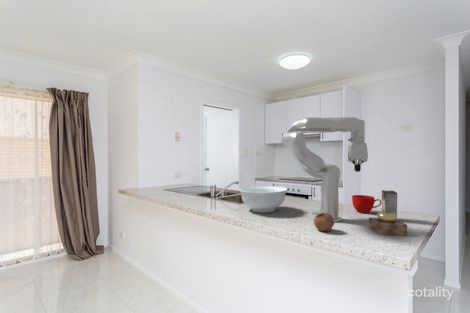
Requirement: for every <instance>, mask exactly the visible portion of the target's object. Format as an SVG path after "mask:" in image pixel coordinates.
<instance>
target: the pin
mask: <svg viewBox="0 0 470 313" xmlns="http://www.w3.org/2000/svg"><path fill="white" fill-rule="evenodd" d="M377 218H378V221H380V222H385V223H396V214H394V213H389V212H382V211H380V212H377Z"/></svg>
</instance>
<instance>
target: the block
mask: <svg viewBox="0 0 470 313" xmlns="http://www.w3.org/2000/svg"><path fill="white" fill-rule="evenodd" d="M368 229H370V230H372V231H373V232H375V233H376V234H377V235H381V236H405V237H407V236H408V224H407V223H405V222H402V221H400V220H399V219H398V218H397V219H396V223H385V222H380V221H378V217H368Z"/></svg>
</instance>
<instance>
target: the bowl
mask: <svg viewBox="0 0 470 313" xmlns="http://www.w3.org/2000/svg"><path fill="white" fill-rule="evenodd" d="M239 192H240V193H241V199H242V201H243V203H244V204H245V205H246V206H248V207H249V208H251V210H252V212H255V213H262V214H263V213H266V214H267V213H273V212H275V211H276V209H277V208H279V207H280V206H281V205H282V204H283V203H284V201H285V198H286V194H287V192H288V188H287V187H284V186H283V187H282V186H275V185H274V186H271V185H254V186H253V185H252V186H243V187H240V188H239Z"/></svg>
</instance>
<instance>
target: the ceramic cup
mask: <svg viewBox="0 0 470 313" xmlns="http://www.w3.org/2000/svg"><path fill="white" fill-rule="evenodd" d="M378 201H379V202H380V203H378V204H377V205H375V202H378ZM351 202H352V206H353V207H354V209H355V211H357V213H360V214H369V213H370V212H371V211H372V210H373V209H375V208H378V207H380V206H382V199H379V198H376V199H375V197H374V196H371V195H363V194H353V195H352V196H351Z"/></svg>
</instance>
